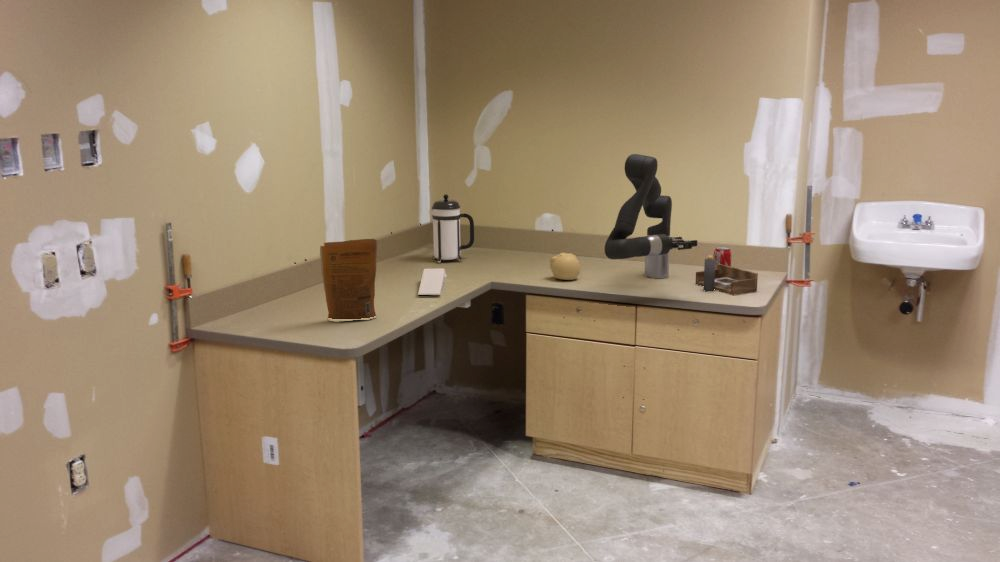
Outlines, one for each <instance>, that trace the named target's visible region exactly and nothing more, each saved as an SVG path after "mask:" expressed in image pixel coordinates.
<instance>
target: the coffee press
mask: <svg viewBox="0 0 1000 562" xmlns="http://www.w3.org/2000/svg"><path fill="white" fill-rule="evenodd" d="M460 211H461V205H460V202H459V201H457V200H454V199H449V195H448V194H447V193H445V194H444V195H443V199H438V200H435V201H434V202H433V203H432V205H431V208H430V210H429V212H428V214H431V219H432V227H433V228H432V230H433V231H432V232H433V235H432V236H433V256H432V258H433V257H434V258H437V259H436V260H437V261H440V260H443V261H449V260H456V259H459V261H460V260H461V259H462V257H461V250H466V249H470V248H471V247H472V246H473V245H474V242H475V223H474V218H473V216H471V215H470V214H468V213H461V212H460ZM461 218H466V219H468V222H469V242H468V243H467V244H464V245H462V244H461ZM437 261H436V262H437Z"/></svg>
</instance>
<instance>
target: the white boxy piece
mask: <svg viewBox="0 0 1000 562" xmlns="http://www.w3.org/2000/svg"><path fill="white" fill-rule="evenodd" d="M447 276H448V275H447V274H446V269H445V268H423V272H422V275H421V281H420V285H419V288H418V293H417V296H418V295H440V294H441V295H442V291H441V289H442V290H443V287H444V284H443V282H444V280H445V281H447V279H448V277H447ZM444 283H445V282H444ZM441 295H440V296H441Z"/></svg>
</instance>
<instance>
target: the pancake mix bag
mask: <svg viewBox="0 0 1000 562" xmlns="http://www.w3.org/2000/svg"><path fill="white" fill-rule="evenodd" d="M319 256H320V267H321V276H322V282H323V289H324V293H325V295H324V296H325V302H326V308H327V311H328V312H327V313H328V315H327V319H328V318H332V319H361V318H370V317H374V316H376V317H377V315H376V310H375V296H376V295H375V294H376V292H375V291H376V289H375V288H376V287H375V285H376V283H375V282H376V277H377V258H378V239H375V238H363V239H362V238H361V239H353V240H352V239H350V240H349V239H348V240H345V241H330V242H329V241H327V242H323V245H320V247H319Z"/></svg>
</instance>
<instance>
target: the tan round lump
mask: <svg viewBox="0 0 1000 562" xmlns="http://www.w3.org/2000/svg"><path fill="white" fill-rule="evenodd" d="M549 268H550V269H551V273H552V275H553V276H554V278H555V279H557V280H563V281H564V280H567V281H573V280H576V279H577V278H578V277H579V276H580V273H581V264H580V261H579V259H578V258H577V255H575V254H574V253H572V252H571V253H569V252H568V253H567V252H560V253H559V254H557V255H555V256H552V257H550V259H549Z"/></svg>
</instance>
